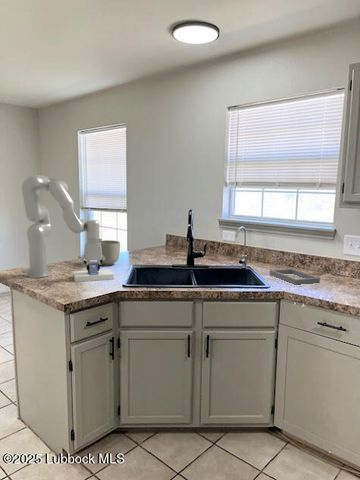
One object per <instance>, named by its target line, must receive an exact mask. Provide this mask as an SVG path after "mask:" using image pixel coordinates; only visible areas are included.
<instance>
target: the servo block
mask: <svg viewBox="0 0 360 480" xmlns="http://www.w3.org/2000/svg"><path fill="white" fill-rule="evenodd" d="M89 275H98V273H97V264H95V265H93V264H92V265H89Z"/></svg>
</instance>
